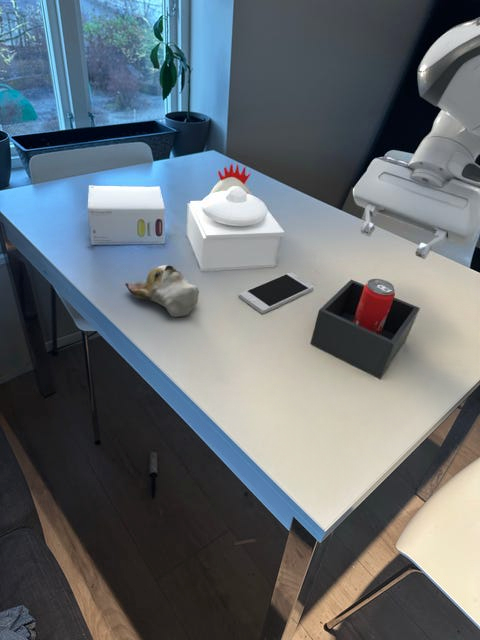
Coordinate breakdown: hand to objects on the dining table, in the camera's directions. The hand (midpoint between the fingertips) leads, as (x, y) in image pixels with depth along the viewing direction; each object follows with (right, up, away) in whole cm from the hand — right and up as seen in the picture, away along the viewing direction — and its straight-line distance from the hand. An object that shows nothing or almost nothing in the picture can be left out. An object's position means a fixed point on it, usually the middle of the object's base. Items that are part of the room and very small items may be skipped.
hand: (391, 244), depth 70 cm
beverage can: (-1, -16, +12) cm, 20 cm away
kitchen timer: (-27, +15, +49) cm, 58 cm away
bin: (-2, -16, +13) cm, 21 cm away
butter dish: (-26, +5, +36) cm, 45 cm away
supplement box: (-51, +9, +38) cm, 64 cm away
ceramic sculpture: (-38, -9, +17) cm, 43 cm away
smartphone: (-16, -6, +23) cm, 29 cm away
